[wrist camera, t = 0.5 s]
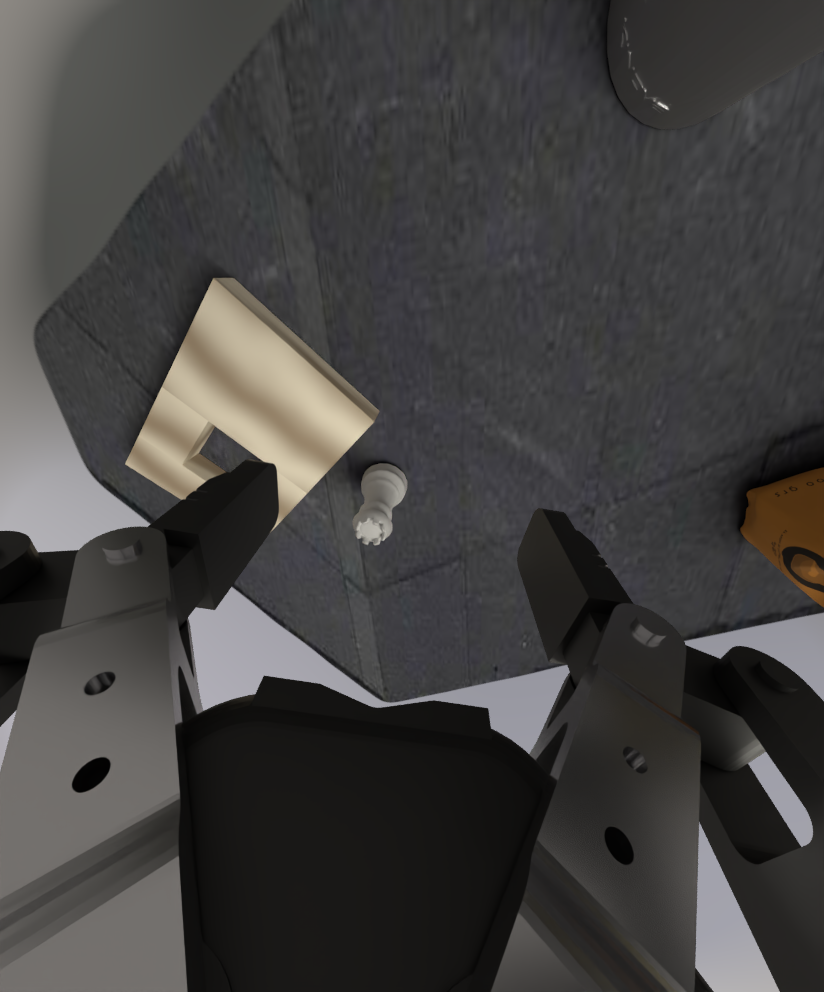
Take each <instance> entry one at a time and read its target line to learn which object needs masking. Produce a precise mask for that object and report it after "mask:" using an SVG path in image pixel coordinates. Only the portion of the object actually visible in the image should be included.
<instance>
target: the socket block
mask: <svg viewBox="0 0 824 992" xmlns="http://www.w3.org/2000/svg"><path fill="white" fill-rule="evenodd" d="M378 413H379V410H378V409H377V408H376V407H374V406H373V405H372V404H371V403H370V402H369V401H368V400H367V399H366V398H365V397H364V396H362V395H361V394H360V393H359V392H358V391H357V390H356V389H355V388H354V387H353V386H351V385H350V384H349V383H348V382H347V381H346V380H345V379H344V378H343V377H342V376H341V375H339V374H338V373H337V372H336V371H335V370H334V369H333V368H332V367H331V366H330V365H328V364H327V363H326V362H325V361H324V360H323V359H322V358H321V357H320V356H319V355H318V354H316V353H315V352H314V351H313V350H312V349H311V348H310V347H309V346H308V345H307V344H305V343H304V342H303V341H302V340H301V339H300V338H299V337H298V336H297V335H296V334H294V333H293V332H292V331H291V330H290V329H289V328H288V327H287V326H286V325H285V324H284V323H282V322H281V321H280V320H279V319H278V318H277V317H276V316H275V315H274V314H273V313H271V312H270V311H269V310H268V309H267V308H266V307H265V306H264V305H263V304H262V303H261V302H259V301H258V300H257V299H256V298H255V297H254V296H253V295H252V294H251V293H250V292H248V291H247V290H246V289H245V288H244V287H243V286H242V285H241V284H240V283H239V282H238V281H236V280H235V279H234V278H213V280H212V282H211V284H210V286H209V288H208V291H207V293H206V295H205V297H204V299H203V301H202V303H201V305H200V307H199V310H198V312H197V314H196V316H195V318H194V320H193V322H192V324H191V326H190V329H189V331H188V333H187V335H186V337H185V339H184V341H183V343H182V345H181V348H180V350H179V352H178V354H177V356H176V358H175V360H174V362H173V364H172V367H171V369H170V371H169V373H168V375H167V377H166V379H165V381H164V383H163V386H162V388H161V390H160V392H159V394H158V396H157V398H156V400H155V402H154V405H153V407H152V409H151V411H150V413H149V415H148V417H147V419H146V421H145V424H144V426H143V428H142V430H141V432H140V434H139V436H138V438H137V440H136V443H135V445H134V447H133V449H132V451H131V453H130V455H129V457H128V459H127V462H126V465H127V466H129V467H131V468H132V469H134V470H135V471H137V472H139V473H140V474H142V475H143V476H145V477H146V478H148V479H150V480H151V481H153V482H154V483H156V484H158V485H159V486H161V487H162V488H164V489H166V490H167V491H169V492H170V493H172V494H173V495H175V496H177V497H178V498H180V499H181V500H183V499H186V497H187V496H188V495H189V494H190V493H192V492H193V491H196V489H197V488H198V487H199V486H201V485H202V484H203V483H204V482H206V481H207V480H208V479H210V478H213V477H215V476H218V475H221V474H223V473H226V472H225V471H224V470H223V469H221V468H220V467H218V466H217V465H215V464H214V463H212V462H211V461H210V460H208V459H207V458H205V457H204V456H202V455H201V454H199V452H200V450H201V448H202V447H203V445H204V444H205V442H206V440H207V439H208V437H209V436H210V434H211V432H212V431H213V429H214V428H215V426H216V427H217V428H218V429H220V430H221V431H223V432H224V433H225V434H227V435H228V436H229V437H231V438H232V439H233V440H235V441H236V442H238V443H239V444H240V445H242V446H243V447H244V448H246V449H247V450H248V451H250V452H251V453H253V454H254V455H255V456H257V457H258V458H259V459H261V460H262V461H263V462H268V463H273V464H275V466H276V469H277V480H278V497H279V514H278V518H277V522H276V524H275V526H274V528H275V527H276V526H277V525H278V524H279V523H280V522H281V521H282V520H283V518H284V517H285V516H286V515H287V514H288V513H289V512H290V511H291V510H292V509H293V508H294V507H295V506H296V505H297V504H298V502H299V501H300V500H301V499H302V498H303V497H304V496H305V495H306V494H307V493H308V492H309V491H310V490H311V489H312V488H313V486H314V485H315V484H316V483H317V482H318V481H319V480H320V479H321V478H322V477H323V476H324V475H325V474H326V473H327V472H328V470H329V469H330V468H331V467H332V466H333V465H334V464H335V463H336V462H337V461H338V460H339V459H340V458H341V457H342V456H343V454H344V453H345V452H346V451H347V450H348V449H349V448H350V447H351V446H352V445H353V444H354V443H355V442H356V441H357V440H358V438H359V437H360V436H361V435H362V434H363V433H364V432H365V431H366V430H367V429H368V428H369V427H370V426H371V425H372V424H373V422H374V421H375V419H376V417H377V415H378ZM274 528H273V529H274ZM273 529H272V530H273Z"/></svg>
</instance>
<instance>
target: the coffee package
mask: <svg viewBox="0 0 824 992" xmlns="http://www.w3.org/2000/svg"><path fill="white" fill-rule="evenodd" d="M747 498H748V503H749V506H748V507H747V509H746V519H745V521H744V524H743V526H742V527H741V528H740V530H741V533H742V535H743V536H744V537H745V539H746V540H747V541H748V542H750V543H751V544H752V545H754V546H755V547H756V548H757V549H758V550H759V551H760V552H761V553H762V554H763V555H764V556H765V557H766V558H767V559H768V560H769V561H770V562H771V563H773V564H774V565H775V566H776V567H777V568H778V569H779V570H780V571H782V572H783V573H784V574H785V575H786V576H787V577H788V578H789V579H790V580H791V581H792V582H793V583H795V584H796V585H797V586H798V587H799V588H800V589H801V590H803V591H804V592H805V593H806V594H807V595H808V596H810V597H811V598H812V599H813V600H814V601H816V602H817V603H819V604H820V605H821V606H823V607H824V467H823V468H819V469H814V470H811V471H808V472H804V473H801V474H798V475H795V476H792V477H789V478H786V479H783V480H780V481H777V482H774V483H771V484H769V485H766V486H762V487H758V488H754V489H751V490H749V491H748V492H747Z"/></svg>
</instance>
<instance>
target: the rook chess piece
mask: <svg viewBox="0 0 824 992" xmlns="http://www.w3.org/2000/svg"><path fill="white" fill-rule="evenodd" d="M361 490H362V494H363V496H364V498H365V502H364V504H363V505H362V506H361V508H360V510H359V513H358V514H356V515H355V517H354V519H353V528H354V530H355V531H356V533H355V536H356V537H357V539H359V538H363V542H362V543H364V544H367V545H368V543H369V541H373V544H374V545H378V544H380V540H382V541H384V540H385V538H387V537H388V536H389V535H390V534H391V532H392V523H391V519H392V512H391V510H392V508H393V507H394V506H396V505H397V504H398V503H400V502H401V501H402V499H403V497H404V495H405V492H406V490H407V480H406V477H405V475H404V473H403V472H402V471H401V470H399V469H398V468H397V467H395V466H393V465H390V464H383V463H379V464H376V465H373V466H371V467H369V468H368V469H367V470H366V471H365V473H364V475H363V478H362V482H361Z"/></svg>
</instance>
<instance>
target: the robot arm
mask: <svg viewBox="0 0 824 992" xmlns="http://www.w3.org/2000/svg"><path fill="white" fill-rule="evenodd" d="M822 51H824V0H611V2H610V9H609V15H608V22H607V55H608V62H609V69H610V75H611V79H612V82H613V84H614V87H615V90H616V93H617V95H618V98H619V99H620V101H621V102H622V104H623V105H624V106H625V108H626V109H627V111H628V112H629V114H631V115H632V116H633V117H635V118H636V119H637V120H639V121H640V122H641V123H643V124H645V125H648V126H651V127H654V128H657V129H681V128H684V127H688V126H692V125H695V124H699V123H700V122H702V121H704V120H706V119H708V118H710V117H712V116H714V115H716V114H718V113H720V112H721V111H723V110H725V109H726V108H728V107H730V106H731V105H733V104H735V103H736V102H738V101H740V100H741V99H743V98H745V97H746V96H748V95H750V94H751V93H753V92H755V91H756V90H758V89H760V88H761V87H763V86H765V85H767V84H768V83H770V82H772V81H774V80H775V79H777V78H779V77H781V76H782V75H784V74H786V73H787V72H789V71H791V70H792V69H794V68H796V67H797V66H799V65H801V64H802V63H804V62H806V61H807V60H809V59H811V58H812V57H814V56H816V55H817V54H819V53H821V52H822ZM278 514H279V497H278V480H277V469H276V466H275V464H273V463H268V462H262V461H256V460H250V459H247V460H245V461H244V462H242V463H241V464H240V465H239V466H238V467H236V468H235V469H234V470H233V471H232V472H230V473H228V472H226V473H223V474H221V475H218V476H215V477H213V478H210V479H208V480H207V481H206V482H204V483H203V484H202V485H201V486H199V487H198V488H197V489H196V491H193V492H192V493H190V494H189V495H188V496H187V497H186V499H183V500H181V501H180V502H179V503H178V504H176V505H175V506H174V507H172V508H171V509H170V510H169V511H167V512H166V513H165V514H163V515H162V516H161V517H160V518H158V519H157V520H156V521H155V522H153V523H152V524H151V525H149V526H148V527H128V528H122V529H117V530H114V531H110V532H108V533H105V534H102V535H100V536H98V537H96V538H94V539H92V540H90V541H89V542H88V543H86V544H85V545H84V546H83V547H82V548H80V550H74V551H56V552H37V550H36V549H35V547H34V545H33V543H32V541H31V539H30V538H29V537H28V536H27V535H26V534H23V533H20V532H15V531H0V727H1V725H2V724H3V723H4V722H5V721H6V720H7V719H8V718H9V717H10V716H11V715H12V714H13V713H14V712H15V711H16V710H17V711H16V715H15V719H14V722H13V726H12V730H11V733H10V737H9V741H8V745H7V749H6V752H5V756H4V760H3V763H2V767H1V771H0V992H713V991H712V989H711V988H710V987H709V985H708V984H707V983H706V981H705V980H704V979H703V977H702V976H701V975H700V973H699V972H698V971H697V969H696V968H695V951H696V913H697V876H698V837H699V822H700V824H701V826H702V828H703V830H704V832H705V835H706V837H707V838H708V841H709V843H710V845H711V847H712V849H713V852H714V854H715V856H716V858H717V860H718V862H719V864H720V866H721V868H722V871H723V873H724V875H725V877H726V879H727V881H728V883H729V885H730V887H731V890H732V892H733V894H734V896H735V898H736V900H737V902H738V904H739V906H740V908H741V911H742V913H743V915H744V917H745V919H746V921H747V923H748V925H749V928H750V930H751V931H752V934H753V936H754V938H755V940H756V942H757V944H758V946H759V949H760V951H761V953H762V955H763V957H764V959H765V961H766V963H767V965H768V968H769V970H770V972H771V974H772V976H773V978H774V980H775V982H776V984H777V987H778V989H779V991H780V992H824V701H823V700H822V699H821V698H820V697H819V696H818V695H817V694H816V693H815V692H814V690H813V689H812V688H811V687H810V686H809V685H807V683H806V682H805V681H804V680H803V679H801V678H800V677H799V676H798V675H797V674H796V673H795V672H793V671H792V670H791V669H789V668H788V667H787V666H785V665H784V664H782V663H781V662H779V661H777V660H776V659H774V658H772V657H770V656H768V655H767V654H765V653H762V652H760V651H758V650H755V649H752V648H749V647H744V646H736V647H733V648H731V649H730V650H729V651H728V652H727V653H726V654H725V655H724V656H723V657H722V658H721V659H719V658H717V657H714V656H712V655H709V654H707V653H704V652H701V651H699V650H696V649H694V648H691V647H689V646H686V645H685V642H684V640H683V638H682V637H681V635H680V634H679V633H678V632H677V630H676V629H675V628H674V627H673V626H672V625H671V624H670V623H668V622H667V621H666V620H665V619H664V618H662V617H661V616H659V615H658V614H656V613H654V612H653V611H651V610H649V609H647V608H644V607H642V606H639V605H635V604H633V602H632V601H631V599H630V598H629V596H628V595H627V593H626V592H625V590H624V589H623V587H622V586H621V584H620V583H619V581H618V580H617V578H616V577H615V575H614V574H613V572H612V571H611V569H608V565H607V563H606V562H605V560H604V559H603V558H601V554H600V553H599V551H598V550H597V548H596V547H595V545H594V544H593V543H592V542H591V541H590V540H589V539H588V538H587V537H585V536H584V535H583V534H582V533H581V532H580V531H576V530H575V528H574V526H573V525H572V523H571V522H570V520H569V518H568V517H567V515H566V514H565V513H564V512H559V511H553V510H547V509H541V508H539V509H537V510H536V511H535V512H534V514H533V516H532V518H531V521H530V523H529V526H528V528H527V530H526V533H525V535H524V538H523V540H522V542H521V545H520V547H519V551H518V558H517V562H518V568H519V571H520V574H521V577H522V580H523V583H524V586H525V590H526V593H527V596H528V599H529V602H530V605H531V608H532V611H533V614H534V617H535V621H536V624H537V627H538V630H539V633H540V636H541V639H542V642H543V645H544V648H545V652H546V655H547V658H548V661H549V662H552V663H559V664H566V665H568V668H569V671H570V673H569V674H568V676H567V677H566V679H565V681H564V683H563V685H562V687H561V690H560V692H559V694H558V696H557V698H556V701H555V703H554V705H553V707H552V710H551V712H550V714H549V716H548V718H547V721H546V723H545V725H544V727H543V729H542V732H541V734H540V736H539V738H538V740H537V742H536V744H535V745H534V747H533V749H532V751H531V752H530V754H528V753H527V752H526V751H525V750H523V748H521V747H520V746H519V745H517V744H516V743H515V742H513V741H512V740H511V739H509V738H507V737H505V736H504V735H502V734H500V733H499V732H497V731H495V730H493V729H491V726H490V719H489V711H488V708H482V707H475V706H468V705H461V704H454V703H448V702H441V701H427V702H419V703H412V704H405V705H397V706H390V707H383V708H374V707H371V706H368V705H366V704H363V703H361V702H359V701H357V700H355V699H352V698H350V697H348V696H346V695H344V694H341V693H339V692H337V691H335V690H332V689H330V688H328V687H326V686H323V685H321V684H317V683H311V682H303V681H297V680H290V679H283V678H276V677H269V676H264V677H263V679H262V681H261V683H260V685H259V688H258V690H257V692H256V694H255V695H248V696H244V697H240V698H236V699H232V700H229V701H226V702H224V703H221V704H218V705H215V706H213V707H211V708H209V709H207V710H205V711H203V708H202V704H201V699H200V694H199V689H198V682H197V675H196V668H195V660H194V652H193V645H192V637H191V631H190V624H189V620H188V616H189V615H190V614H191V613H192V611H193V610H194V609H195V607H198V608H205V609H211V610H215V609H216V608H217V606H218V605H219V603H220V602H221V601H222V599H223V598H224V596H225V595H226V594H227V592H228V591H229V589H230V588H231V587H232V585H233V584H234V582H235V581H236V580H237V578H238V577H239V575H240V574H241V573H242V571H243V570H244V568H245V567H246V566H247V564H248V563H249V561H250V560H251V559H252V557H253V556H254V554H255V553H256V552H257V550H258V549H259V547H260V546H261V545H262V543H263V542H264V540H265V539H266V538H267V536H268V535H269V533H270V532H271V531H272V529H273V528H274V526H275V524H276V522H277V518H278ZM764 752H767V753H768V755H769V756H770V758H771V759H772V761H773V762H774V764H775V765H776V766H777V768H778V769H779V771H780V772H781V774H782V775H783V777H784V778H785V779H786V781H787V782H788V784H789V785H790V787H791V788H792V789H793V791H794V792H795V794H796V795H797V797H798V798H799V799H800V801H801V802H802V804H803V805H804V807H805V808H806V810H807V812H808V814H809V816H810V819H811V821H812V825H813V838H812V840H811V842H810V843H809V844H807V845H806V846H803V847H801V846H800V844H799V843H798V842H797V840H796V838H795V837H794V835H793V833H792V832H791V830H790V829H789V827H788V826H787V824H786V823H785V821H784V820H783V818H782V816H781V815H780V813H779V812H778V810H777V808H776V807H775V805H774V804H773V802H772V801H771V799H770V798H769V796H768V794H767V793H766V792H765V790H764V788H763V787H762V785H761V783H760V782H759V780H758V779H757V777H756V776H755V774H754V773H753V771H752V769H751V768H750V766H749V765H748V763H749V762H750V761H752V760H754V759H755V758H757V757H758V756H760V755H761V754H763V753H764Z"/></svg>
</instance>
